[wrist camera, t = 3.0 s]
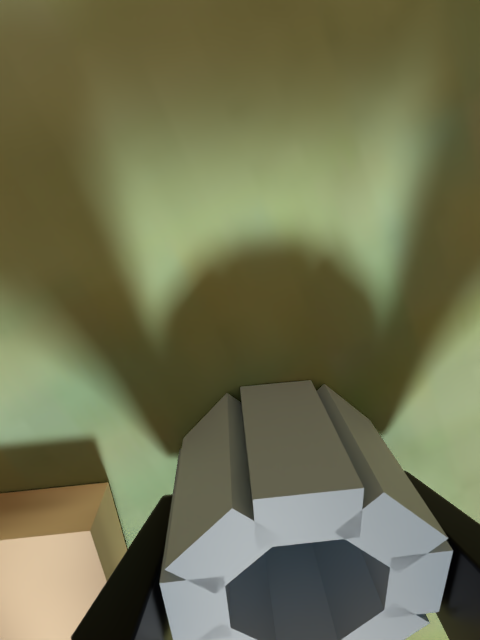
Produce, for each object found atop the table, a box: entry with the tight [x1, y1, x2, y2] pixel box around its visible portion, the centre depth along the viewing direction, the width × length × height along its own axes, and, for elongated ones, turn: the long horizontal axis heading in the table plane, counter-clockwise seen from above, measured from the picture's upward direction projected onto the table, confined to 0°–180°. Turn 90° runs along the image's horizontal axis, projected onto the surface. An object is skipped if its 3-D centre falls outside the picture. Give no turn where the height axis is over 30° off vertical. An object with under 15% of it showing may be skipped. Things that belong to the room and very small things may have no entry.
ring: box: [159, 380, 453, 640], centre depth 8 cm, size 6×6×4 cm
